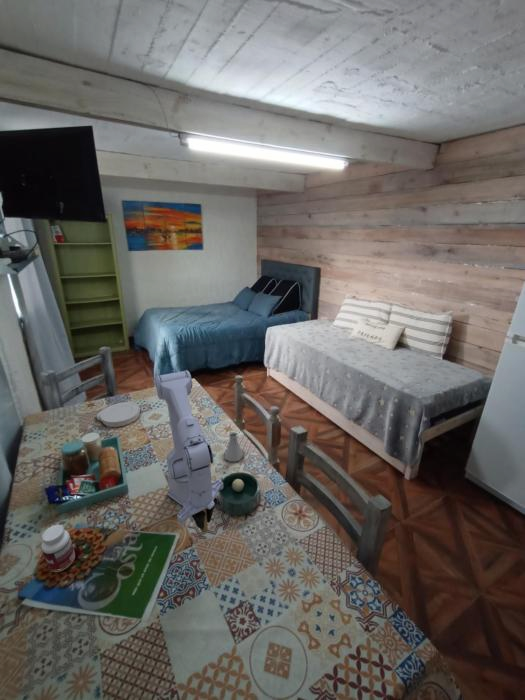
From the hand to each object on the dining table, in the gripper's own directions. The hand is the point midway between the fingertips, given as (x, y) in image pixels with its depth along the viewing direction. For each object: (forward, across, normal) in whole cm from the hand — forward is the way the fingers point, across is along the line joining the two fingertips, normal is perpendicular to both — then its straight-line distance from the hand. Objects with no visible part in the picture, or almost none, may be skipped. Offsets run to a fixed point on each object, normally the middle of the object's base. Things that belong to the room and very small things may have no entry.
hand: (203, 523), depth 85 cm
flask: (+10, +34, +19) cm, 40 cm away
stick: (+2, 0, 0) cm, 2 cm away
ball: (+7, +21, +6) cm, 23 cm away
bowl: (+9, +19, +4) cm, 21 cm away
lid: (+10, +22, +80) cm, 84 cm away
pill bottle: (+10, -25, +28) cm, 39 cm away
